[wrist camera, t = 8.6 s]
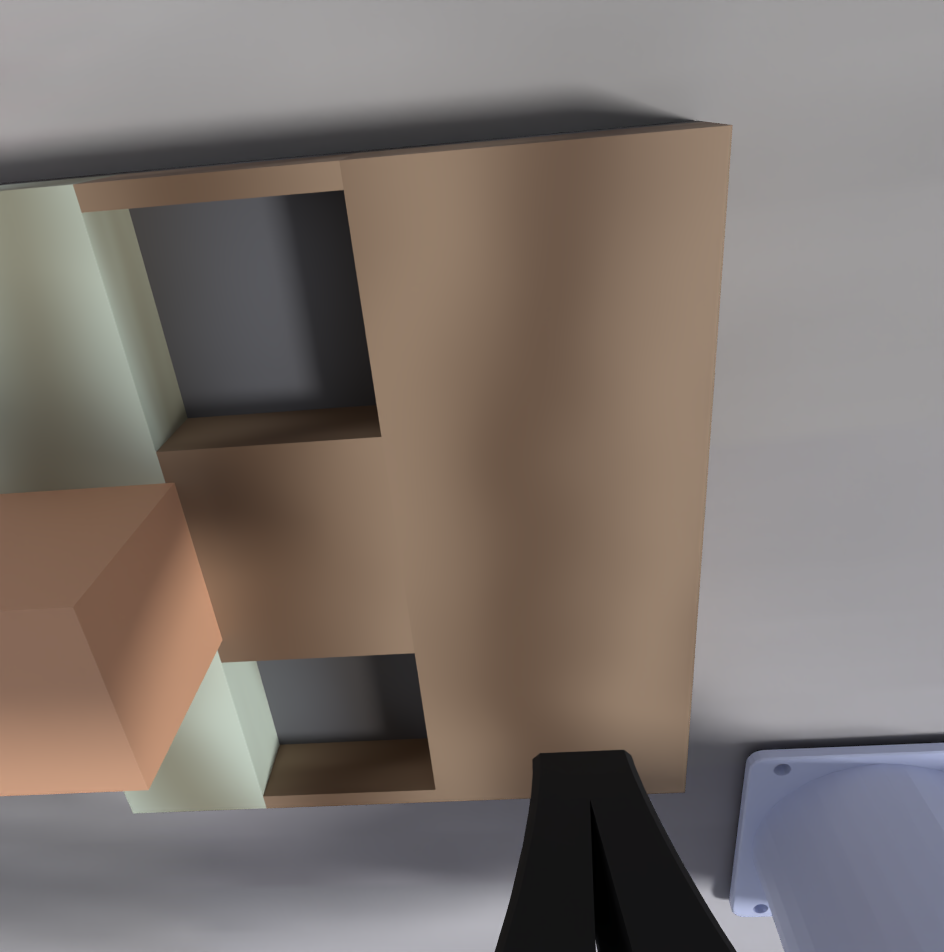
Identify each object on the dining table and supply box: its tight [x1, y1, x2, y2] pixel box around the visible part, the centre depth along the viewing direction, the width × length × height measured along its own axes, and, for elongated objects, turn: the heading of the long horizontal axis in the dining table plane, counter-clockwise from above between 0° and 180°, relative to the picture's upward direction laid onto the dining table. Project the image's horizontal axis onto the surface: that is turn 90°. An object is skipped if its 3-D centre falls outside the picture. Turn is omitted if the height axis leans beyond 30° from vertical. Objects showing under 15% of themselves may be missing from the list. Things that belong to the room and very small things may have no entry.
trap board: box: [0, 121, 732, 813], centre depth 18 cm, size 16×17×2 cm
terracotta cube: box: [0, 483, 222, 796], centre depth 16 cm, size 4×4×4 cm
